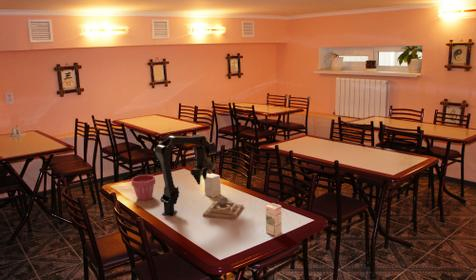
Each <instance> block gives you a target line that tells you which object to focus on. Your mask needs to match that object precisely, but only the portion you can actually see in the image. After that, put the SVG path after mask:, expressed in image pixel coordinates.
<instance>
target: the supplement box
mask: <svg viewBox="0 0 476 280" xmlns="http://www.w3.org/2000/svg"><path fill="white" fill-rule="evenodd" d="M203 180H204V179H203ZM203 182H204V195H205V196H207V197H210V198H214V197H217V196H218V197H219V196H220V195H221V193H222V190H221V188H222V187H221V175H219V174H216V173H210V174H207V176H206V180H204V181H203Z"/></svg>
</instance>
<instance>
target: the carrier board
mask: <svg viewBox="0 0 476 280" xmlns="http://www.w3.org/2000/svg"><path fill="white" fill-rule="evenodd" d="M219 204H220V200H219V201H217V200H216V202H215V201H213V202H212V204H210V206H209V207H207V209H206V210H205V211H204V212H203V213H202V217H205V218H216V219H229V220H235V219H236V218H237V216H238V215H239V214H240V212H241V211H242V210H243V208H244V205H243V204H240V203H237V202H230V201H227V205H230V207H231V209H230V210H224V209H216V206H218V205H219Z"/></svg>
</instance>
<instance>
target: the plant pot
mask: <svg viewBox="0 0 476 280" xmlns="http://www.w3.org/2000/svg"><path fill="white" fill-rule="evenodd" d="M155 185H156V177H155V176H154V175H151V174H141V175H136V176H134V177H132V178H131V186H132V187H133V190H134V192H135V194H136V198H137V200H139V201H148V200H151V199H152V198H153V196H154V195H153V194H154V189H155V188H154V187H155Z"/></svg>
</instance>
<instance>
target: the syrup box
mask: <svg viewBox="0 0 476 280" xmlns="http://www.w3.org/2000/svg"><path fill="white" fill-rule="evenodd" d="M265 224H266V225H265V230H266V234H268V235H271V236H274V237H276V236H278V235H280V234H282V232H283V231H282V230H283V229H282V225H283V224H282V205H280V204H276V203H274V202H271V203H269V204H267V205H265Z"/></svg>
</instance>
